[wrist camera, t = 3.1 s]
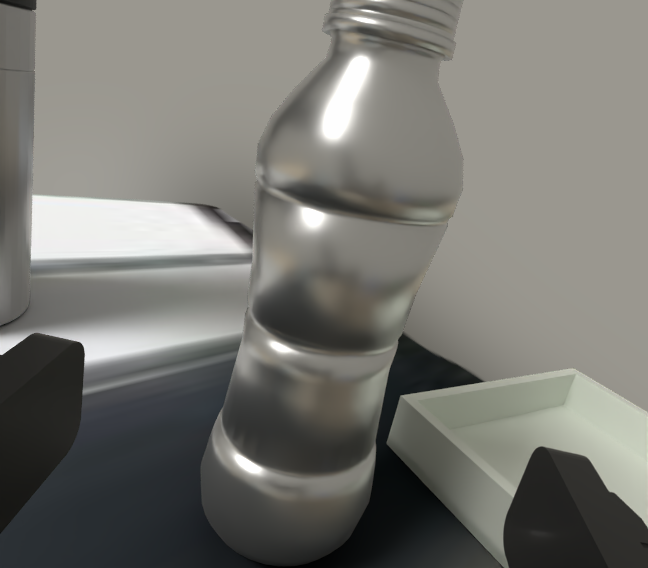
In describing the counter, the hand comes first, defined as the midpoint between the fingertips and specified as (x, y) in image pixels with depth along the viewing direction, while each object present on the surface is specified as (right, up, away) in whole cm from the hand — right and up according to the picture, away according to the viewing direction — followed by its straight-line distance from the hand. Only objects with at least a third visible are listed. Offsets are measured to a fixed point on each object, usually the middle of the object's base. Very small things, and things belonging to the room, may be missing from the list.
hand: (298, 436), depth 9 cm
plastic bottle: (-2, -7, +13) cm, 15 cm away
